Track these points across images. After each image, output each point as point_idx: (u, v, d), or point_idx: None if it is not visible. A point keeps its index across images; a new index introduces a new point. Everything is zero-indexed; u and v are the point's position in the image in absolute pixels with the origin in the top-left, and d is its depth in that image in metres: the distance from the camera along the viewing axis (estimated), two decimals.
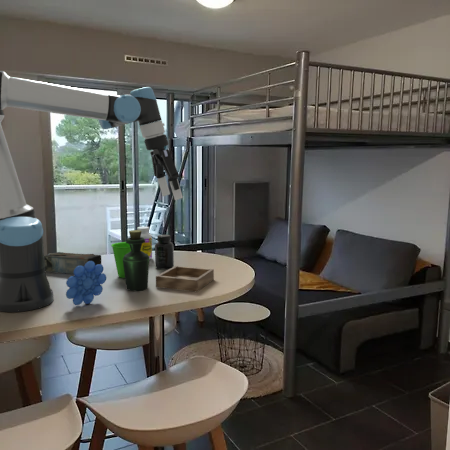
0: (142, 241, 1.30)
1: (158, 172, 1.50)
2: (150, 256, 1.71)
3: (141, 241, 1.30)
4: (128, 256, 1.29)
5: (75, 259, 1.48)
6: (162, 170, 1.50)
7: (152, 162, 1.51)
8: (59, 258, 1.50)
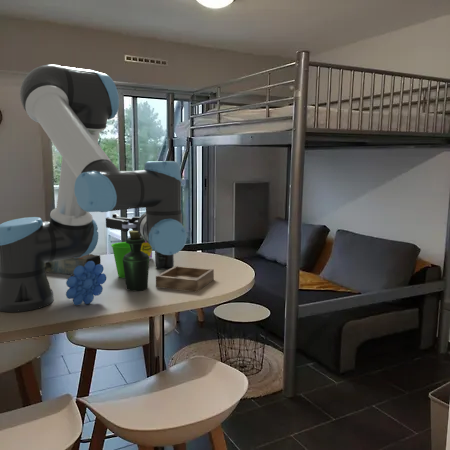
0: (142, 241, 1.30)
1: None
2: (150, 256, 1.71)
3: (141, 241, 1.30)
4: (128, 256, 1.29)
5: (74, 259, 1.47)
6: None
7: None
8: None
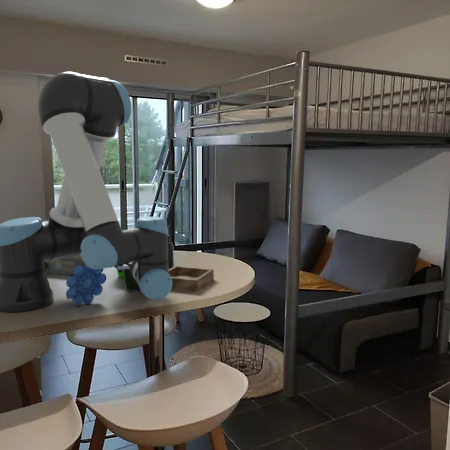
0: None
1: None
2: None
3: None
4: None
5: (72, 260, 1.46)
6: None
7: None
8: None
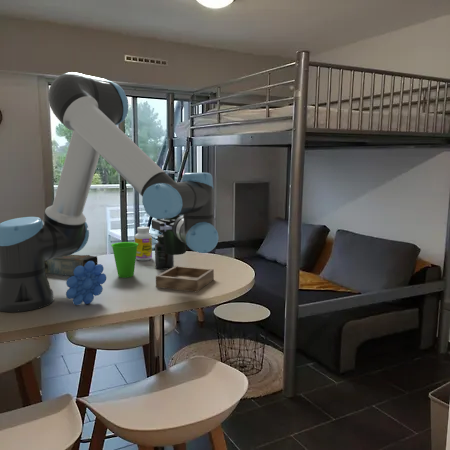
0: None
1: None
2: (150, 256, 1.71)
3: None
4: None
5: (71, 260, 1.46)
6: None
7: None
8: (55, 259, 1.48)
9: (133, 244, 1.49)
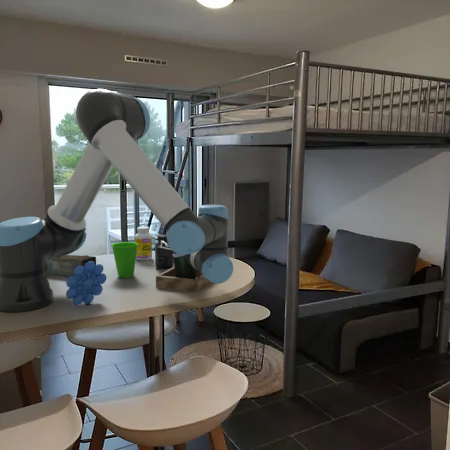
0: None
1: None
2: (150, 256, 1.71)
3: None
4: None
5: (69, 261, 1.45)
6: None
7: None
8: (53, 260, 1.48)
9: (133, 244, 1.49)
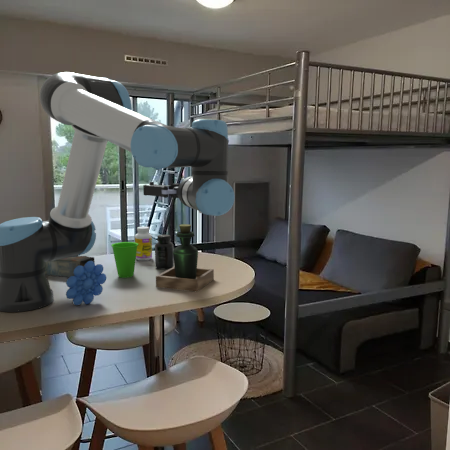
0: (192, 235, 1.35)
1: None
2: (150, 256, 1.71)
3: (191, 235, 1.35)
4: (179, 249, 1.35)
5: (67, 261, 1.45)
6: None
7: None
8: None
9: (133, 244, 1.49)
